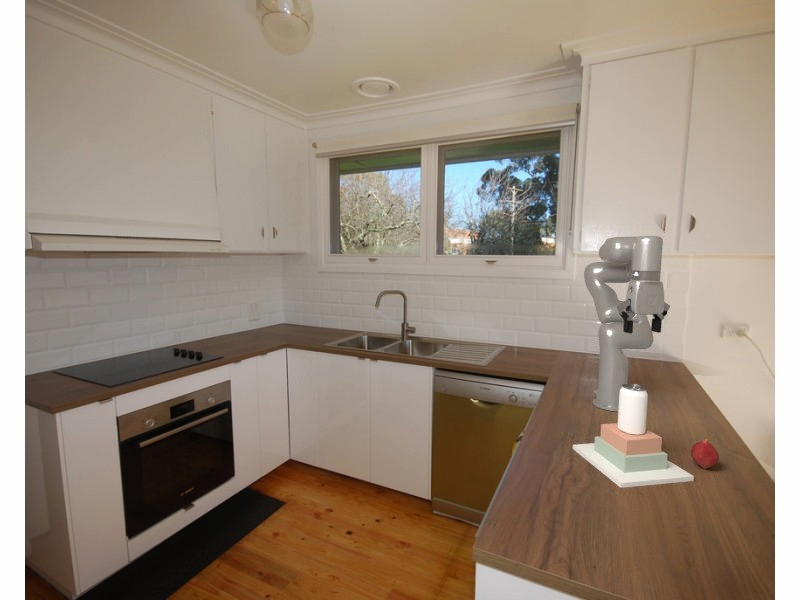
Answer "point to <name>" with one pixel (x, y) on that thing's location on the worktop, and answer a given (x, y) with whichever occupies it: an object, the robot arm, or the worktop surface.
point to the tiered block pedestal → (631, 458)
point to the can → (632, 409)
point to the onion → (704, 454)
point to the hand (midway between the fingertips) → (641, 332)
